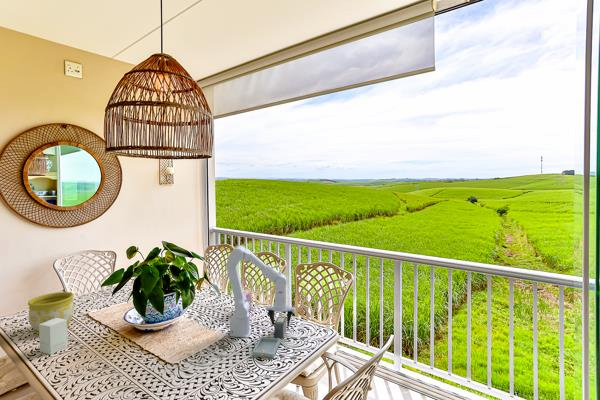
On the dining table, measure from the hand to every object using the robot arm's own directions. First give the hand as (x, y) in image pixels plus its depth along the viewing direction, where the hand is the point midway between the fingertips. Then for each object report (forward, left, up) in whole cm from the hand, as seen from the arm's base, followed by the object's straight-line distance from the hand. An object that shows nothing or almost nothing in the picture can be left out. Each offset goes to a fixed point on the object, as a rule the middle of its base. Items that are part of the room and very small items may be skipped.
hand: (280, 325), depth 147 cm
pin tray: (-3, -15, -4) cm, 16 cm away
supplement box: (-98, -31, -5) cm, 103 cm away
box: (-27, +21, -5) cm, 35 cm away
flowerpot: (-117, -15, -5) cm, 118 cm away
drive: (0, 0, -4) cm, 4 cm away
